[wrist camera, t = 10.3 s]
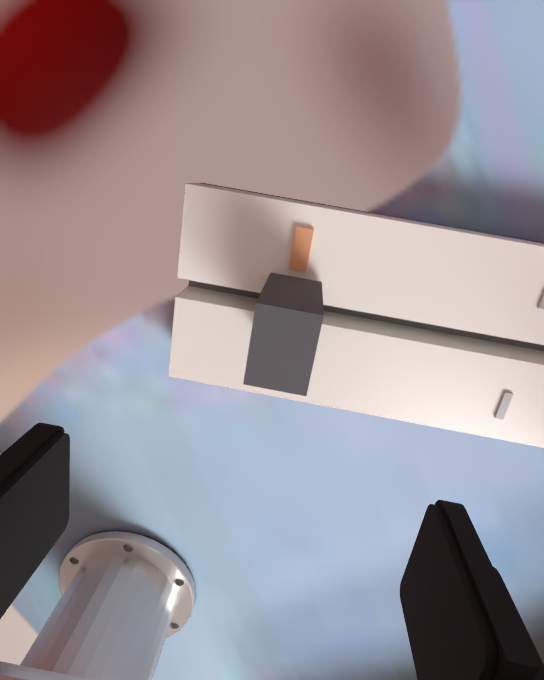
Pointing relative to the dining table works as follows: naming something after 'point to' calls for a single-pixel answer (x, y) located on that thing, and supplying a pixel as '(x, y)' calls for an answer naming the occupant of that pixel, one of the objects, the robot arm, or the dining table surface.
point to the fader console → (370, 310)
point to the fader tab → (285, 334)
